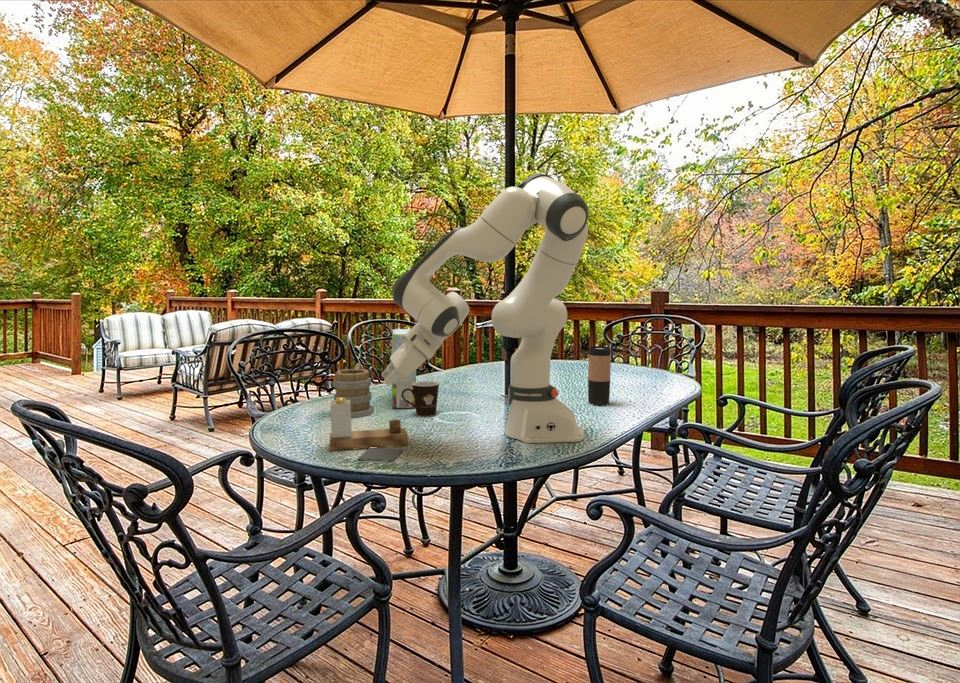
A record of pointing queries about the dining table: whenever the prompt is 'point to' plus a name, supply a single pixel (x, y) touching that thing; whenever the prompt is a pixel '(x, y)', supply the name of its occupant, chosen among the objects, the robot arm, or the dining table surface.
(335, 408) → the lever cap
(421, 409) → the coffee mug
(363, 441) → the body
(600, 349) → the travel mug
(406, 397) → the snack box
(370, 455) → the mat
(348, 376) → the tankard
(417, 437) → the dining table surface
